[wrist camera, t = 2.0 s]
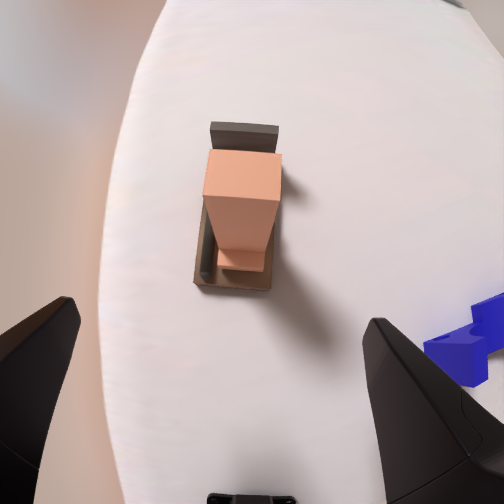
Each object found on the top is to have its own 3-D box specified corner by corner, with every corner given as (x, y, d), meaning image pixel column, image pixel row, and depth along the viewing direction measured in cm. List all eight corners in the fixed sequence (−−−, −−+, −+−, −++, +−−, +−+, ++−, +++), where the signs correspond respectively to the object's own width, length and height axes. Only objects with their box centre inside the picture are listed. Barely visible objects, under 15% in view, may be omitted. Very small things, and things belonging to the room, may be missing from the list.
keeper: (262, 272, 19) (278, 226, 10) (218, 268, 19) (198, 221, 10) (266, 213, 20) (282, 134, 11) (224, 210, 20) (213, 129, 11)
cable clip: (505, 291, 21) (548, 280, 15) (511, 334, 20) (554, 331, 14) (419, 323, 20) (468, 320, 14) (425, 377, 19) (473, 387, 13)
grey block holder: (269, 290, 20) (276, 281, 16) (195, 284, 20) (182, 273, 16) (276, 160, 23) (283, 126, 18) (212, 156, 23) (206, 121, 18)
